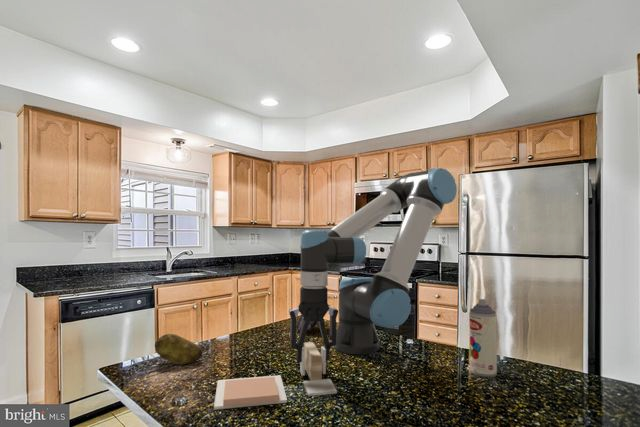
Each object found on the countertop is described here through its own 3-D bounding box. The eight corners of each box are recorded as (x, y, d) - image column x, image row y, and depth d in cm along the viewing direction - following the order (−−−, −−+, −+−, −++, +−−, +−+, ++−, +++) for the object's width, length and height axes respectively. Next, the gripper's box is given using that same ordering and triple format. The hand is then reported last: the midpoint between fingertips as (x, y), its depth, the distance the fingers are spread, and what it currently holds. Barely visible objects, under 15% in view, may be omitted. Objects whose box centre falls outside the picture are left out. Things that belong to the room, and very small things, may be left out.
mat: (280, 377, 95) (280, 375, 95) (287, 402, 82) (287, 399, 82) (217, 382, 92) (217, 380, 92) (213, 409, 78) (213, 406, 78)
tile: (274, 376, 90) (278, 394, 81) (274, 383, 90) (278, 401, 81) (225, 380, 88) (223, 399, 78) (225, 387, 88) (223, 407, 78)
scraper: (296, 365, 103) (296, 343, 104) (320, 364, 105) (320, 341, 105) (308, 396, 85) (308, 368, 85) (336, 393, 86) (337, 365, 87)
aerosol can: (464, 368, 103) (464, 297, 103) (486, 366, 104) (485, 297, 105) (479, 378, 96) (478, 302, 97) (502, 376, 97) (501, 301, 98)
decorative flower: (300, 300, 149) (331, 292, 143) (310, 325, 150) (342, 319, 144) (285, 317, 136) (319, 310, 130) (296, 345, 137) (331, 339, 131)
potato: (188, 370, 100) (189, 340, 100) (149, 365, 103) (150, 337, 103) (205, 359, 108) (205, 332, 108) (168, 355, 111) (169, 329, 111)
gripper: (282, 289, 93) (281, 381, 92) (349, 287, 97) (348, 375, 96) (279, 285, 100) (278, 369, 99) (341, 283, 104) (341, 365, 103)
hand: (312, 372), depth 98 cm, fingers open, 5 cm apart
